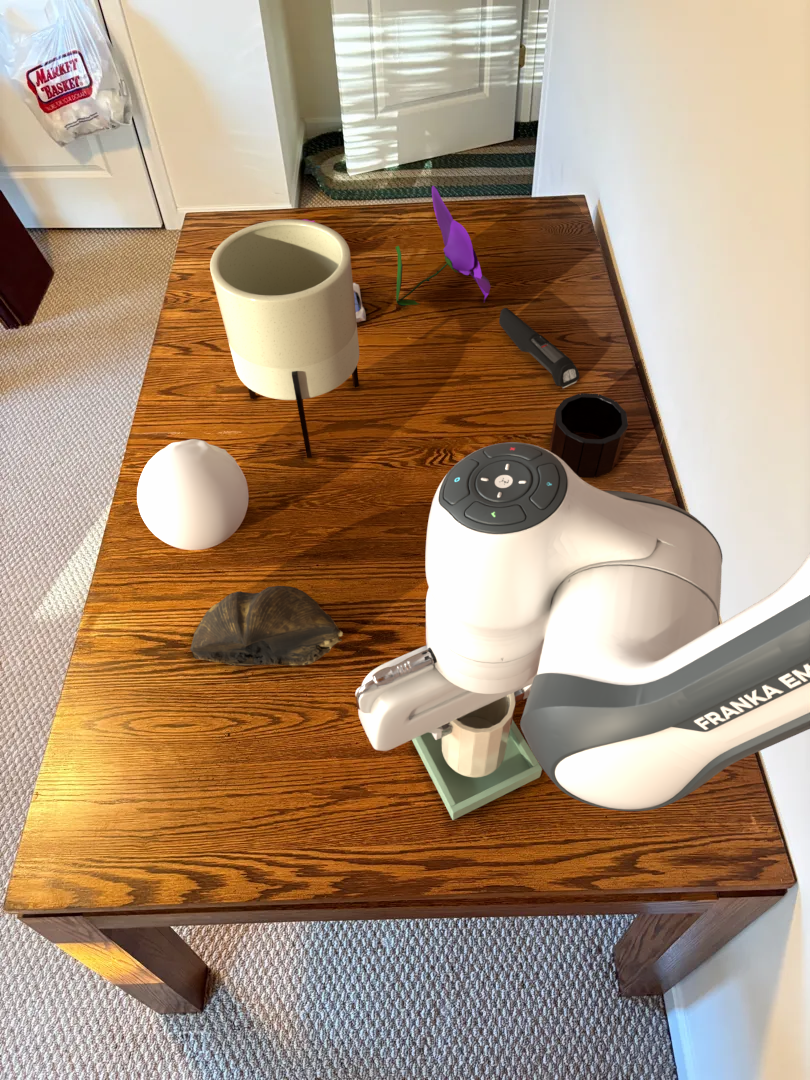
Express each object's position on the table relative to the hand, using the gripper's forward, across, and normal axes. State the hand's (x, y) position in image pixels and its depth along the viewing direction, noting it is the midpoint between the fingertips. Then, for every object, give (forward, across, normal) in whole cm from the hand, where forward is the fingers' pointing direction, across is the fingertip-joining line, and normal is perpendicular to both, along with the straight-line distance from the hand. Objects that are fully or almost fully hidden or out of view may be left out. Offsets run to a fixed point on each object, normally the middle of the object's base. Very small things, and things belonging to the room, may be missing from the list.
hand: (478, 711), depth 67 cm
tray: (+10, 0, 0) cm, 10 cm away
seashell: (+10, -13, +21) cm, 27 cm away
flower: (+10, +29, +65) cm, 72 cm away
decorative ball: (+10, -15, +38) cm, 42 cm away
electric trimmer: (+10, +35, +47) cm, 60 cm away
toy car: (+10, +17, +70) cm, 73 cm away
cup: (+8, 0, 0) cm, 8 cm away
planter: (+10, +3, +51) cm, 52 cm away
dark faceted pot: (+10, +31, +28) cm, 43 cm away
